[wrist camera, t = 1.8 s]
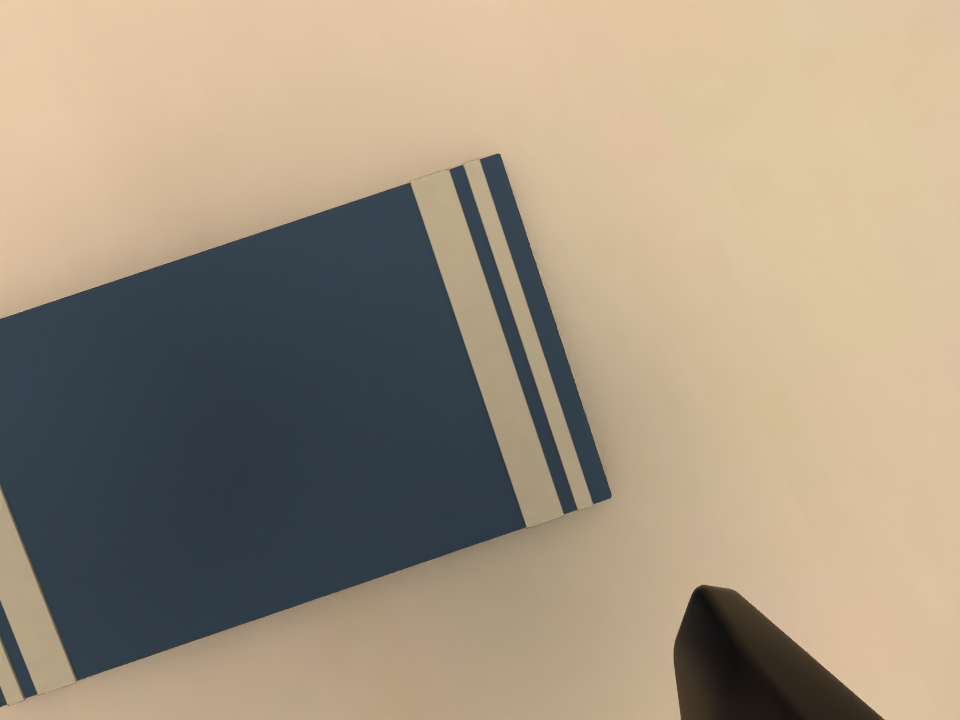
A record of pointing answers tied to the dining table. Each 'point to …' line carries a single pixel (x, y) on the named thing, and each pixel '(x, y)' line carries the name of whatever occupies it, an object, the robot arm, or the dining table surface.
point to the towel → (278, 425)
